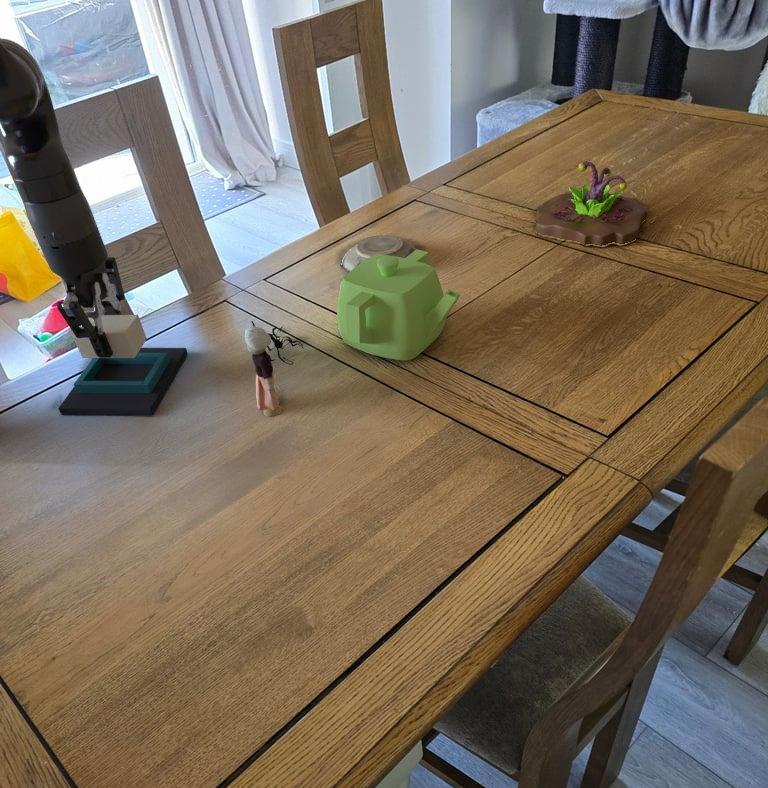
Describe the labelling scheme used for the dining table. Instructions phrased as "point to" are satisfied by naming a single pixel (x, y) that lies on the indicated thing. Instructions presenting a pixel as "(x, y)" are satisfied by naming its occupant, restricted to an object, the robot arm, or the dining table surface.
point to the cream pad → (116, 336)
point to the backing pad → (124, 384)
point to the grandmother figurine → (263, 371)
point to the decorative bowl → (376, 250)
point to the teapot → (393, 306)
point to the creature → (279, 343)
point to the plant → (592, 213)
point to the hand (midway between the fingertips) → (113, 345)
